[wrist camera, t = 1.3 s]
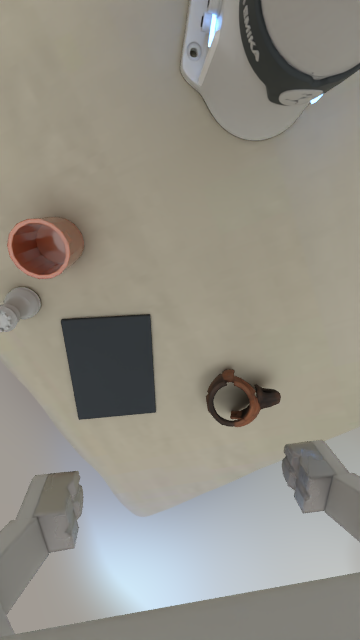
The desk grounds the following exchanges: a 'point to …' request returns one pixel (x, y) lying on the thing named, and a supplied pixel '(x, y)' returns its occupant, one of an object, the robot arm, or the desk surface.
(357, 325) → the desk surface
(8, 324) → the rook chess piece
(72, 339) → the mat
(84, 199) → the desk surface
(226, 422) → the dark brown domed piece
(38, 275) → the pot
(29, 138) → the desk surface
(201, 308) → the desk surface
